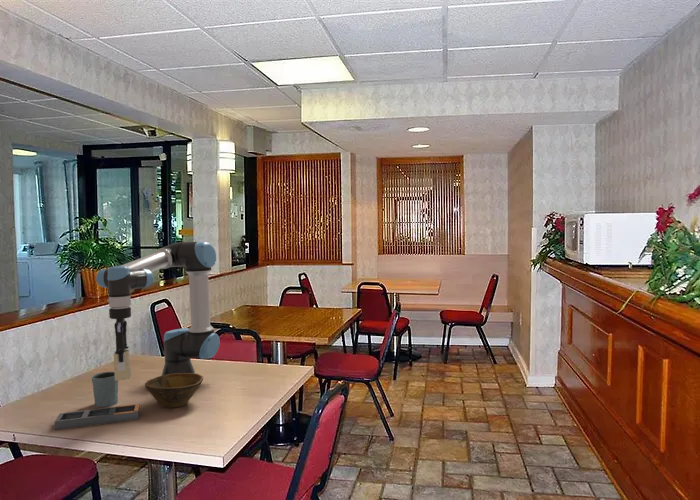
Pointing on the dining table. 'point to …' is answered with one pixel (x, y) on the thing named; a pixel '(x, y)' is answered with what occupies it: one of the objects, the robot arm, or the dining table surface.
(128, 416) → the grey compartment tray
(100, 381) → the grey-green cup
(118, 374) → the beige recessed-panel block
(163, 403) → the bowl
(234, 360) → the dining table surface
